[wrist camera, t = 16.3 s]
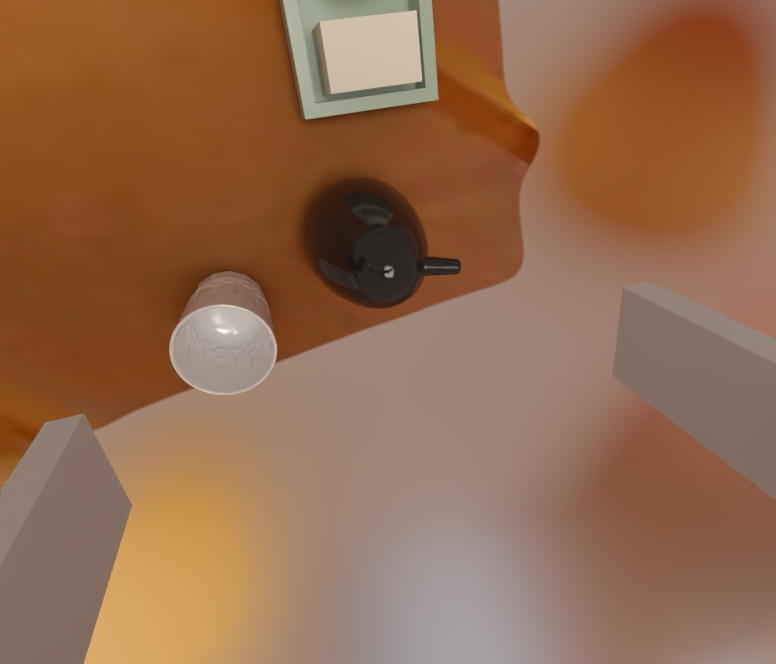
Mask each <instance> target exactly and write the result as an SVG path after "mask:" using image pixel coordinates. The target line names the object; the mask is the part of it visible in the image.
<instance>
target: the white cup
mask: <svg viewBox="0 0 776 664" xmlns="http://www.w3.org/2000/svg"><path fill="white" fill-rule="evenodd" d="M169 354H170V359H171V362H172V365H173V367H174V369H175V371H176V372H177V373H178V375H179V376H180V377H181V378H182V379H183V380H184V381H185V382H186V383H187V384H189V385H190V386H192V387H194V388H195V389H198V390H200V391H203V392H206V393H209V394H214V395H233V394H238V393H242V392H245V391H248V390H250V389H252V388H254V387H255V386H257V385H258V384H260V383H261V382H262V381H263V380H264V379H265V378H266V377H267V376H268V375H269V373H270V372H271V370H272V369H273V366H274V364H275V361H276V357H277V344H276V339H275V334H274V328H273V323H272V318H271V314H270V310H269V307H268V304H267V299H266V297H265V295H264V293H263V291H262V289H261V287H260V285H259V284H258V283H256V282H255V281H254V280H252V279H251V278H250V277H249V276H247V275H245V274H241V273H237V272H233V271H225V272H220V273H214V274H212V275H210V276H209V277H207V278H206V279H205V280H203V281H202V282H200V283H199V285H198V287H197V289H196V291H195V293H194V294H193V295H192V296H191V298H190V299H189V301H188V303H187V305H186V307H185V308H184V310H183V312H182V314H181V317H180V319H179V321H178V323H177V325H176V327H175V329H174V331H173V334H172V336H171V339H170V344H169Z"/></svg>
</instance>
